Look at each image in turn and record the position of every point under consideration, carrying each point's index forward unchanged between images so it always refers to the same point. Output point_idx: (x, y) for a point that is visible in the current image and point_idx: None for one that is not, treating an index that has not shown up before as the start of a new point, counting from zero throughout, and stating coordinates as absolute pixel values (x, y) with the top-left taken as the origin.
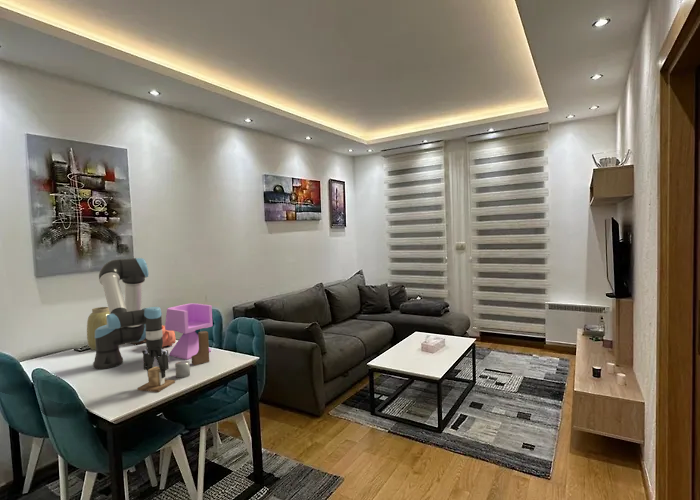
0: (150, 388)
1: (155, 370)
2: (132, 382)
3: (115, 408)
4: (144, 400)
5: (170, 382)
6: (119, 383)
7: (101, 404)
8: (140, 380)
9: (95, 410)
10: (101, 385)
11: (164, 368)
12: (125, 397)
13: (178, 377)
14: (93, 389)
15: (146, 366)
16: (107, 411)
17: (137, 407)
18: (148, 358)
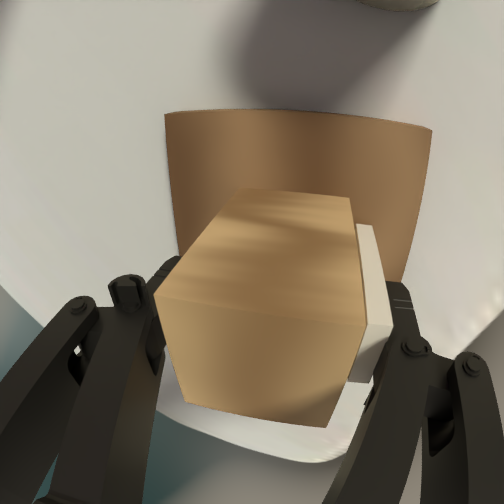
0: None
1: (307, 422)
2: (56, 185)
3: (266, 435)
4: (349, 401)
5: (417, 194)
6: (24, 213)
7: (178, 407)
8: (67, 141)
9: (206, 433)
10: (2, 245)
11: (441, 431)
12: None
13: (385, 7)
14: (18, 284)
15: (80, 343)
16: (255, 443)
17: None
18: (15, 427)
